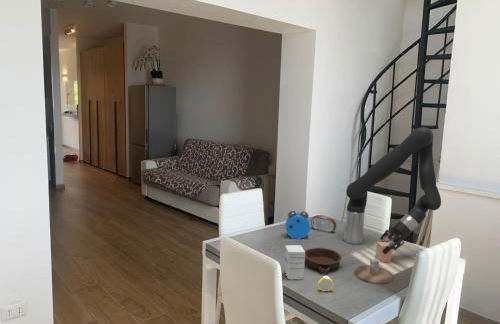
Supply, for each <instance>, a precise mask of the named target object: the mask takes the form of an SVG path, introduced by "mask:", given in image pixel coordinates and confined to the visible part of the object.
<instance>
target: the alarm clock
mask: <svg viewBox="0 0 500 324" xmlns="http://www.w3.org/2000/svg"><path fill="white" fill-rule="evenodd" d="M309 217H310V216H309V213H308V212H307V211H304V210H303V211H301V212H299V211H297V212H296V211H294V210H290V211H289V212H288V214H287V218H286V220H285V230H286V233H287V234H288V236H289V237H291V238H292V239H296V240H299V239H303V238H305V237H307V235H308V234H309V233H310V230H311V223H310V221H309V219H308V218H309Z"/></svg>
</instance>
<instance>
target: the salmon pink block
mask: <svg viewBox="0 0 500 324" xmlns="http://www.w3.org/2000/svg"><path fill="white" fill-rule="evenodd" d="M389 243H390V242H381V241H377V242H376V246H377V247H375V248H376V250H375V251H376V252H375V259H377V260H378V261H379V263H390V262H392V256H393V255H392V254H393V249H392V250H390V251H389V252H388V253H387V254H384V253H383V252H382V251H383V250H384V249H385V248H386V247H387V246H388V245H389Z"/></svg>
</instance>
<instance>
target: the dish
mask: <svg viewBox="0 0 500 324" xmlns="http://www.w3.org/2000/svg"><path fill="white" fill-rule="evenodd" d="M304 251H305V262H306V265H308V266H309V267H310V266H311V268H313V269H315V270H318V269H319V270H318V271H319V272H321V273H323V274H325V273H326V274H327V273H328V272H329V271H332V270H335V269H337V268H338V267H339V265H340V262H341V261H342V259H343V257H342V255H341V254H340V253H339V252H337V251H336V250H333V249H331V248H330V249H329V248H324V247H313V248H309V249H306V250H304Z"/></svg>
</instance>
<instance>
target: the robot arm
mask: <svg viewBox="0 0 500 324" xmlns="http://www.w3.org/2000/svg"><path fill="white" fill-rule="evenodd" d="M433 142H434V133H433V131H432V130H431V129H430V128H428V127H425V126H422V127H417V128H415V129H413V130H412V131H411V132H410V133H409V135H407V137H406V138H405V139H404V140H403V141H402V142H401V143H400V144H398V145H397V146H395V147H394V148H393V149H391V150H390V151H388V152H387V153H386V154H385V155H382V156H381V157H380V158H379V159H378V160H377V161H376V162H375V163H374V164H373V165H372V166H371V167H370V168H368V170H366V172H365V173H364V174H362V175H361V176H360V177H359V178H357V179H356V180H354V181H353V182H351V183H349V184H348V185H347V187H346V196H347V198H349V200H348V203H347V205H346V217H345V218H346V219H345V223H344V230H343V231H344V232H343V242H346V243H348V244H351V245H361V244H362V243H363V237H364V224H365V213H366V212H365V211H366V206H367V201H368V191H369V190H370V189H371V188H373V187H374V186H375V185H377V184H378V183H380V182H382V181H383V180H385V179H387V178H388V177H390V176H391V175H393V173H395V172H396V171H397V170H399V168H401V166H402V165H404V163H406V161H407V160H408V159H409V157H411V156H412V155H413V154H415V153H416V152H417V153H418V178H419V179H418V180H419V186H420V189H421V190H423V193H424V194H423V195H422V196H420V197H419V199H417V201H416V202H415V204H414V206H413V208H411V209H410V210H409V211H408V212H407V213H406V214H405V215H404V216H402V218H400V219H399V220H398V221H397V222H396V223H395V224H394V225H393V227H392V230H389V229H386V230H385V231H384V232H383V234H382V235H381V236H380V238H379V239H380V242H388V243H389V245H388V246H387V247H386V248H385V249H384V250H383V251H382V252H383V253H384V254H387V253H388V252H389V251H390V250H392V251H393V250H394V251H396V250H398V249H399V248H400V247H402V246H403V245H405V241H404V240H403V239H406V238H408V237H409V236H410V234H412V233H413V232H414V231H415V229H416V228H417V227H418V226H419V225H420V224H421V223H422V222H423V221H424V220H425V219H426V217H427V215H426V214H427V212H428V210H430V211H436V210H439V209H440V207H441V205H442V199H441V194H440V191H439V189H438V186H437V181H436V180H437V179H436V172H435V163H434V157H433V146H434V145H433V144H434V143H433ZM375 248H377V245H376V247H375Z"/></svg>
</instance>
